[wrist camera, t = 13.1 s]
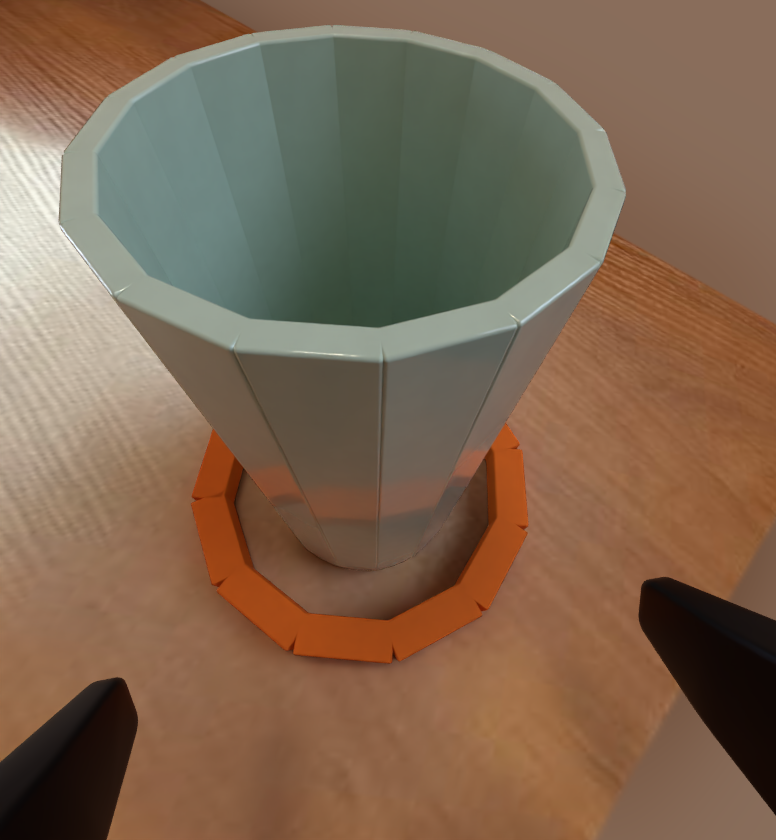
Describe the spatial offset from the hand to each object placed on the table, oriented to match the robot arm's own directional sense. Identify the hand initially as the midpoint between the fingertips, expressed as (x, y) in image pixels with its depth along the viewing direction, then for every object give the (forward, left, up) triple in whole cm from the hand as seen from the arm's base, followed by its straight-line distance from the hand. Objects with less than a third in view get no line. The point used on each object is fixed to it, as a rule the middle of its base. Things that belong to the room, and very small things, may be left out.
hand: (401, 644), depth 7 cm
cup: (+6, +1, -8) cm, 10 cm away
